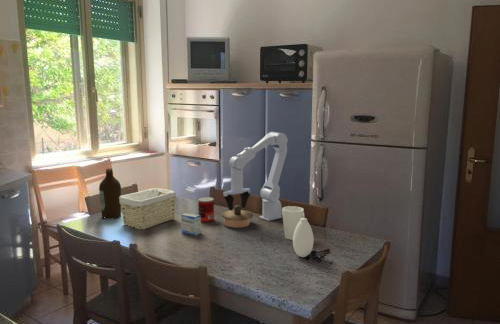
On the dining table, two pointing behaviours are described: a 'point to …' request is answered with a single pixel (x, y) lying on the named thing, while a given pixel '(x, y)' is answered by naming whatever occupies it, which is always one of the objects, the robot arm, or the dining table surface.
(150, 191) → the storage basket
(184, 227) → the medicine box
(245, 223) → the bowl
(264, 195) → the robot arm
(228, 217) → the lid
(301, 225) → the sauce bottle
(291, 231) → the foam cup
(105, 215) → the olive oil
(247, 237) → the dining table surface
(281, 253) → the dining table surface
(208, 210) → the canned food
